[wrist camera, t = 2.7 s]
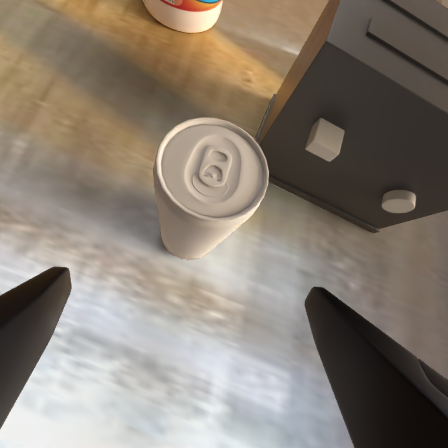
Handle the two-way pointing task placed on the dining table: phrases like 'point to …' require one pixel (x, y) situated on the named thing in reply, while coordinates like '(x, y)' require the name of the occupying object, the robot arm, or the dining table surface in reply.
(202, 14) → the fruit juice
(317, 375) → the dining table surface
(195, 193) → the beverage can
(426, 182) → the toaster
